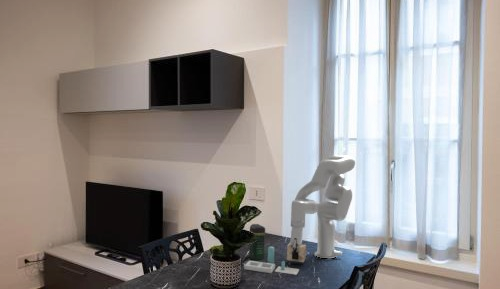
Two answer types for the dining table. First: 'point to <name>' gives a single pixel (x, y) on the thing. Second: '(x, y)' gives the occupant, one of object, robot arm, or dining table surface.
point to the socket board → (259, 266)
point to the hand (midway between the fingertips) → (296, 256)
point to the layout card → (286, 269)
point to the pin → (271, 255)
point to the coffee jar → (257, 242)
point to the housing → (300, 253)
